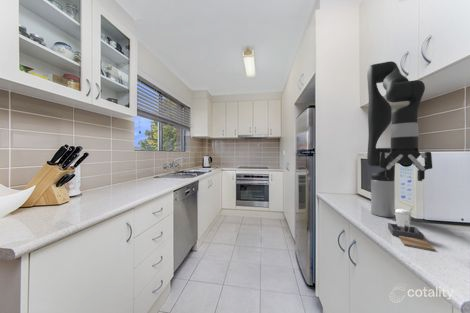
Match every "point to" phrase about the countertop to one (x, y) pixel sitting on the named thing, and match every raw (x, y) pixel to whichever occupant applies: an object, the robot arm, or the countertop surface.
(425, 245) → the pad
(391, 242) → the countertop surface
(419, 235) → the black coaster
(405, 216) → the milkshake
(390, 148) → the robot arm
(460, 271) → the countertop surface
